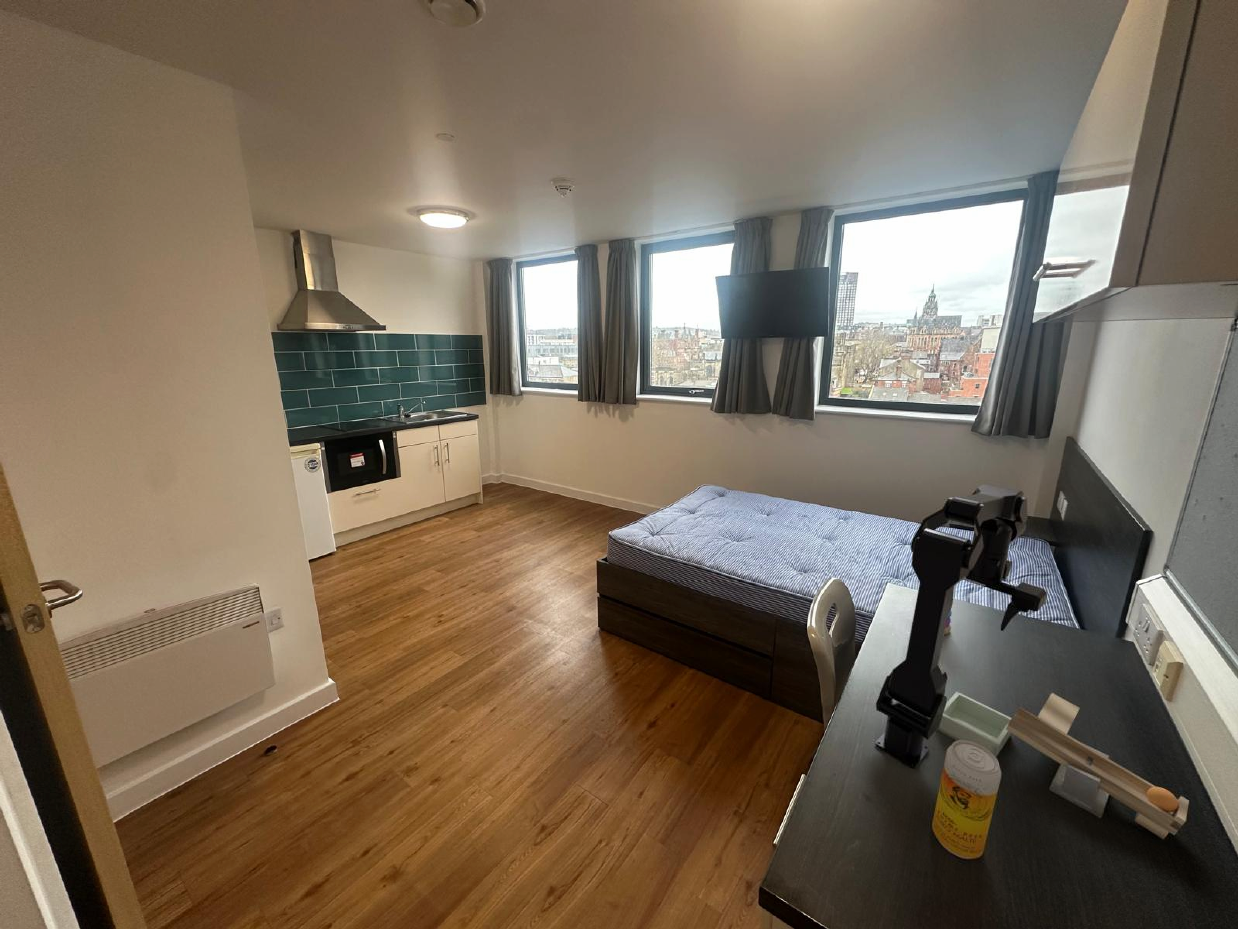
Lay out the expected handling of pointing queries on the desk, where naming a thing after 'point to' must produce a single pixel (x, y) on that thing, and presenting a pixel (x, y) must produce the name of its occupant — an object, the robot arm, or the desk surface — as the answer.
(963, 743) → the beer can
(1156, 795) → the ball
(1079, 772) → the silver support block
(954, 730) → the tray
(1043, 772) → the desk surface
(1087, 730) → the desk surface
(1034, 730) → the lever
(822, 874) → the desk surface
